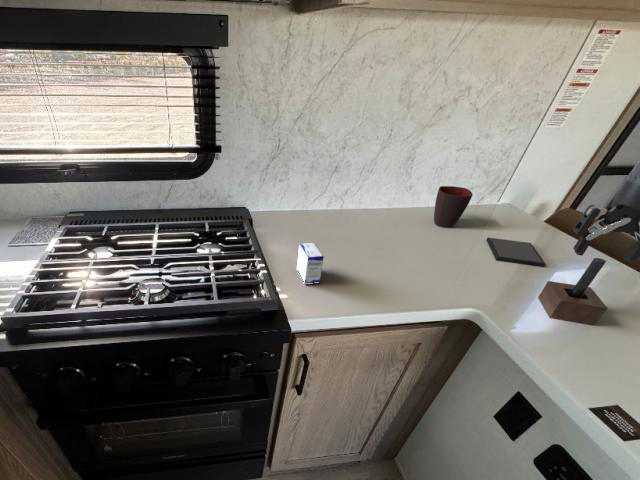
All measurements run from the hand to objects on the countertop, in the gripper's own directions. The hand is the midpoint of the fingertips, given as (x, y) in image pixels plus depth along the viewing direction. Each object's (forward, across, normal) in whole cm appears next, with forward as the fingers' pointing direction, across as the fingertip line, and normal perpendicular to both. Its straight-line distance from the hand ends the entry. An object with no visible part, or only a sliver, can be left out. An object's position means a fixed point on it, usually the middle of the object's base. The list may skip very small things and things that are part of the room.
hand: (602, 256), depth 74 cm
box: (+14, -61, -5) cm, 63 cm away
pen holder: (+15, 0, 0) cm, 15 cm away
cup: (+15, -22, +47) cm, 54 cm away
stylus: (+15, 0, 0) cm, 15 cm away
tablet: (+15, -4, +29) cm, 33 cm away
